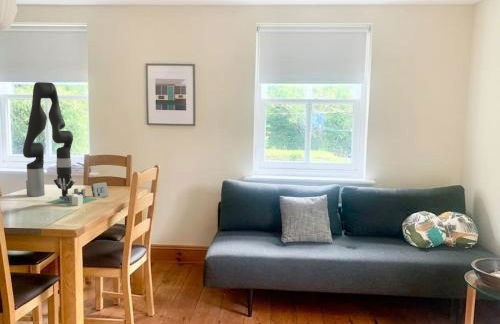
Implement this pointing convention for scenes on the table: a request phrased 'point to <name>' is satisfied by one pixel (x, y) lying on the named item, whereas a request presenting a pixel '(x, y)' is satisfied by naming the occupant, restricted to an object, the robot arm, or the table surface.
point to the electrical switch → (99, 190)
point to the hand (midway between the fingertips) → (65, 196)
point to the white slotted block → (67, 200)
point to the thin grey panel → (69, 196)
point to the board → (71, 203)
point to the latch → (76, 199)
